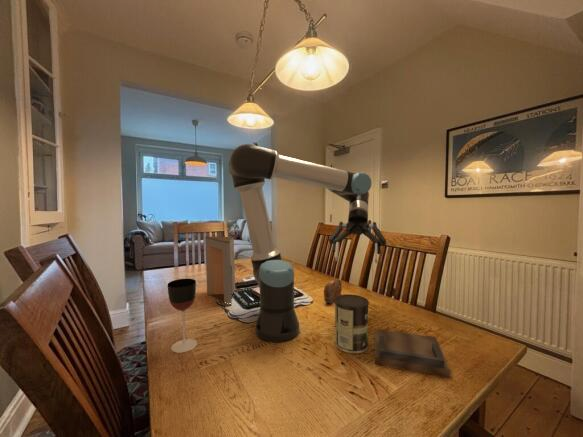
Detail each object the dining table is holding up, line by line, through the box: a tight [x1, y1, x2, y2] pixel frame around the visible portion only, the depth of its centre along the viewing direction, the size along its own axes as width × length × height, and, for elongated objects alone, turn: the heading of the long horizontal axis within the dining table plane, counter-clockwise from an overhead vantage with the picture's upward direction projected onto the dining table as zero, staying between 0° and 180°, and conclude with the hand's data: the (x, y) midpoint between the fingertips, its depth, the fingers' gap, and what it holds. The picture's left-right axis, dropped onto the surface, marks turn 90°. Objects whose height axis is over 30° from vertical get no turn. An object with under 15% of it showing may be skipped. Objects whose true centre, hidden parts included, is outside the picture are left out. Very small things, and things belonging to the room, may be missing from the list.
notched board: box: [374, 328, 451, 378], centre depth 75 cm, size 18×16×4 cm
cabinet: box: [204, 236, 236, 308], centre depth 119 cm, size 21×10×28 cm, turn 42°
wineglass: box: [167, 278, 198, 354], centre depth 79 cm, size 8×9×20 cm
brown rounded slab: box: [323, 279, 342, 305], centre depth 115 cm, size 15×3×8 cm, turn 148°
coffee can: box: [334, 293, 370, 354], centre depth 79 cm, size 10×10×14 cm
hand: (355, 260), depth 89 cm, fingers open, 13 cm apart
